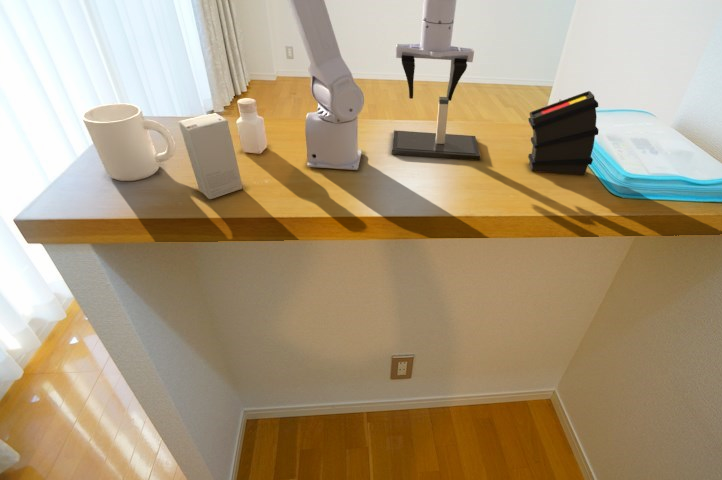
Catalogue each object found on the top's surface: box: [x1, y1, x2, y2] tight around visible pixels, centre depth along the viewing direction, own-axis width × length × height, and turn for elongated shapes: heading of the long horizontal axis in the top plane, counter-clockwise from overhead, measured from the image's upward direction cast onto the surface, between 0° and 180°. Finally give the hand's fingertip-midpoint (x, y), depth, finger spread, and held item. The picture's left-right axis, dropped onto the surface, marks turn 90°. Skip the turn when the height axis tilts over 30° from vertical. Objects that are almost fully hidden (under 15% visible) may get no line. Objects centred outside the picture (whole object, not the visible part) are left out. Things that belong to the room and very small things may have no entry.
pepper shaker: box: [236, 97, 268, 155], centre depth 79 cm, size 4×4×10 cm
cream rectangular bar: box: [435, 96, 450, 144], centre depth 84 cm, size 2×2×9 cm
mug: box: [81, 103, 176, 182], centre depth 70 cm, size 12×8×10 cm
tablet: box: [391, 129, 481, 161], centre depth 87 cm, size 18×10×1 cm, turn 88°
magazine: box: [527, 90, 599, 176], centre depth 79 cm, size 4×13×15 cm, turn 88°
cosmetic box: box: [177, 112, 244, 200], centre depth 66 cm, size 6×4×12 cm
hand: (429, 97), depth 83 cm, fingers open, 7 cm apart
